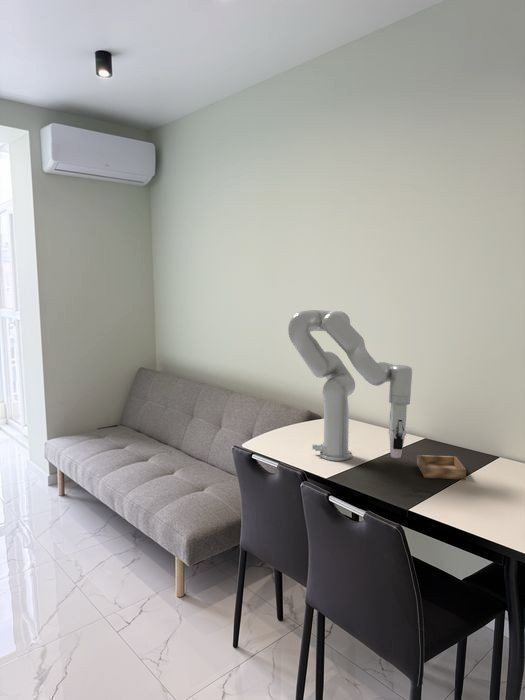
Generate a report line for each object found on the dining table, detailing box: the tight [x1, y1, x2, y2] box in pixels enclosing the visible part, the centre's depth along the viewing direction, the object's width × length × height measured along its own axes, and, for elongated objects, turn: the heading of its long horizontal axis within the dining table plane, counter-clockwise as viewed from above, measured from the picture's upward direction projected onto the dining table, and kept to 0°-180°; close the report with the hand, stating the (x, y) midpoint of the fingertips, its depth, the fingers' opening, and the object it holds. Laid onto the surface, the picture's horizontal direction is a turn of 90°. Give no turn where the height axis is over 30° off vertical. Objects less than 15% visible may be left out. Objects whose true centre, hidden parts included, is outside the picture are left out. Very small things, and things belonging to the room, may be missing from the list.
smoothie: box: [388, 428, 407, 459], centre depth 188 cm, size 6×6×14 cm
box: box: [416, 454, 467, 480], centre depth 182 cm, size 14×14×4 cm
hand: (396, 445), depth 188 cm, fingers closed on smoothie, 6 cm apart
